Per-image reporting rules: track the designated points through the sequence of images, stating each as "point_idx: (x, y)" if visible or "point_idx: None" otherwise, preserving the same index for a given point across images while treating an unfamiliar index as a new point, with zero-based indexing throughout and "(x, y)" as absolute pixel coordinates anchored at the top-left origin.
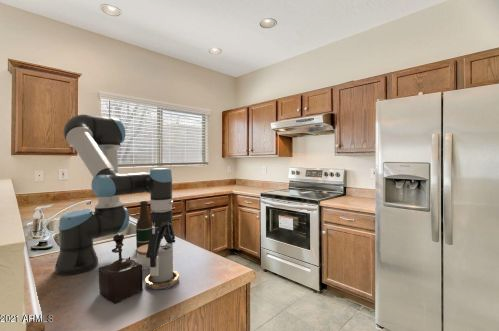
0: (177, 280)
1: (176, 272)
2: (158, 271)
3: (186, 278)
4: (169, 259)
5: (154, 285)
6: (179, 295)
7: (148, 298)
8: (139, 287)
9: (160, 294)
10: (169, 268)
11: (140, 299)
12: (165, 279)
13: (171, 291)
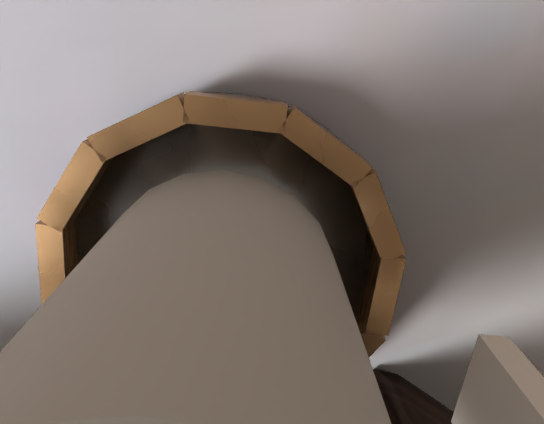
0: (245, 98)
1: (95, 151)
2: (509, 369)
3: (127, 7)
4: (298, 335)
5: (393, 305)
6: (526, 4)
7: (514, 286)
8: (413, 413)
9: (465, 207)
10: (289, 243)
11: (515, 339)
12: (322, 230)
13: (425, 116)
